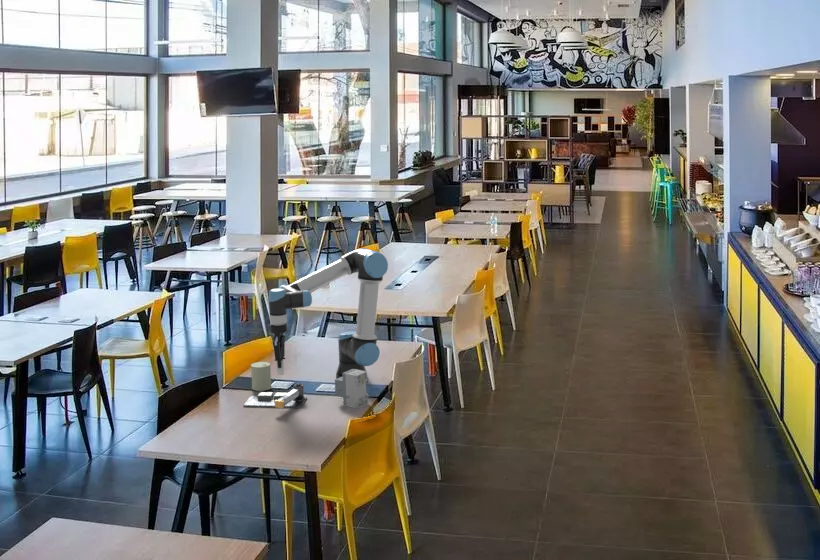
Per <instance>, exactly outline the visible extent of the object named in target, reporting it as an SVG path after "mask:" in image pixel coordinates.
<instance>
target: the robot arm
mask: <svg viewBox="0 0 820 560" xmlns="http://www.w3.org/2000/svg"><path fill="white" fill-rule="evenodd" d="M388 269H389V263H388V259H387V258H386V256H385V255H384V254H383V253H381V252H379V251H377V250H373V249H369V248H365V247H361V248H357V249H354V250H353V251H349V252H348V253H345V254H344V255H342V256H340V258H339V259H338V260H337V261H335V262H332V263H330V264H328V265H327V266H325V267H322V268H320V269H318V270H316V271H314V272H312V273H310V274H308V275H306V276H304V277H302V278H299V280H296V281H294V282H291V283H290V284H282V285H280V286H279V287H278V288H272V289H270V290H269V291H268V310H269V315H268V319H269V323H270V324H269V329H270V330H269V331H270V333H272V334H274V336H273V342H272V345H273V353H274V361H275V362H276V373H277V374H276V375H278V376H279V375H284V374H285V367H284V366H285V365H284V360H286V357H285V349H286V348H285V347H286V346H285V345H286V344H285V343H286V335H285V333H287V332H288V324H287V322H288V319H287V310H291V309H301V308H303V309H304V308H307V307H310V306H311V305H312V303H313V297H312V292H313V291H315V290H318V289H320V288H321V287H323V286H325V285H327V284H329V283H331V282H334V281H335V280H338V279H340V278H342V277H343V276H346V275H347V276H351V275H352V274H356V273H357V279H358V281H359V283H360V286H359V296H358V305H357V307H358V309H357V316H356V317H357V318H356V328H355V330H352V331H344V332H341V333H339V334H338V339H337V341H338V362H339V363H338V366H337V370H336V373H335V379H338V378H340V377H343V375H342V373H344V372H346V371H349V370H351V369H357V370H362V371H367V369H366V367H370V366H372V365H374V364H375V363H376V362H377V361H379V357H380V354H381V351H380V350H381V349H380V348H379V345H377V344H378V343H377V341H378V337H377V335H376V334H375V329H376V328H375V326H376V318H377V306H378V297H379V285H380V283H382V282H383V280H384V279H383V278H384V276H385V274H387V272H388ZM351 372H352V371H351ZM366 373H367V374H368V371H367V372H366ZM365 379H366V377H365Z"/></svg>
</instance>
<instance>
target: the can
mask: <svg viewBox="0 0 820 560" xmlns="http://www.w3.org/2000/svg"><path fill="white" fill-rule="evenodd" d="M250 369H251V370H250V371H251V390H253V391H257V392H265V391H268V390H270V389H272V380H271V379H272V378H271V377H272V376H271V375H272V373H271V363H270V362H269V361H268V362H267V361H258V362H256V361H255V362H253V363H251V364H250Z"/></svg>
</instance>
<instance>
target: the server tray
mask: <svg viewBox="0 0 820 560" xmlns="http://www.w3.org/2000/svg"><path fill="white" fill-rule="evenodd" d="M287 393H288V392H276V393H274V392H272V391H267V392H265V391H259V393H258V394H257V395H251V396H249V397H248V399H247V400H246V401H245V403H243V406H242V407H245V408H276V407H275V400H278V399H280V398H281V397H283V396H284V395H286V394H287ZM307 399H308V397H307V396H304V398H303V399H294V400H292V401H291V402H289V403H288V404H287V405H285V406H284V408H283V409H285V408H286V409H289V408H290V409H301V408H302V407H303V405H304V403H305V402H306V400H307Z"/></svg>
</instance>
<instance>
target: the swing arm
mask: <svg viewBox="0 0 820 560" xmlns="http://www.w3.org/2000/svg"><path fill="white" fill-rule="evenodd" d="M304 390H305V389H304V384H302V383H300V382H297V383H296V384H294V385H293V388H292V389H291V390H289V392H286V393H287V394H286V395H284V396H283V397H281V398H280V399H278V400H275V407H274V408H277V409H278V408H279V409H285V408H284V406H285V405H287V404H288V403H289V402H291V401H292V400H294V399H303V398H304V397H305V395H304V394H305V393H304Z"/></svg>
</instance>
